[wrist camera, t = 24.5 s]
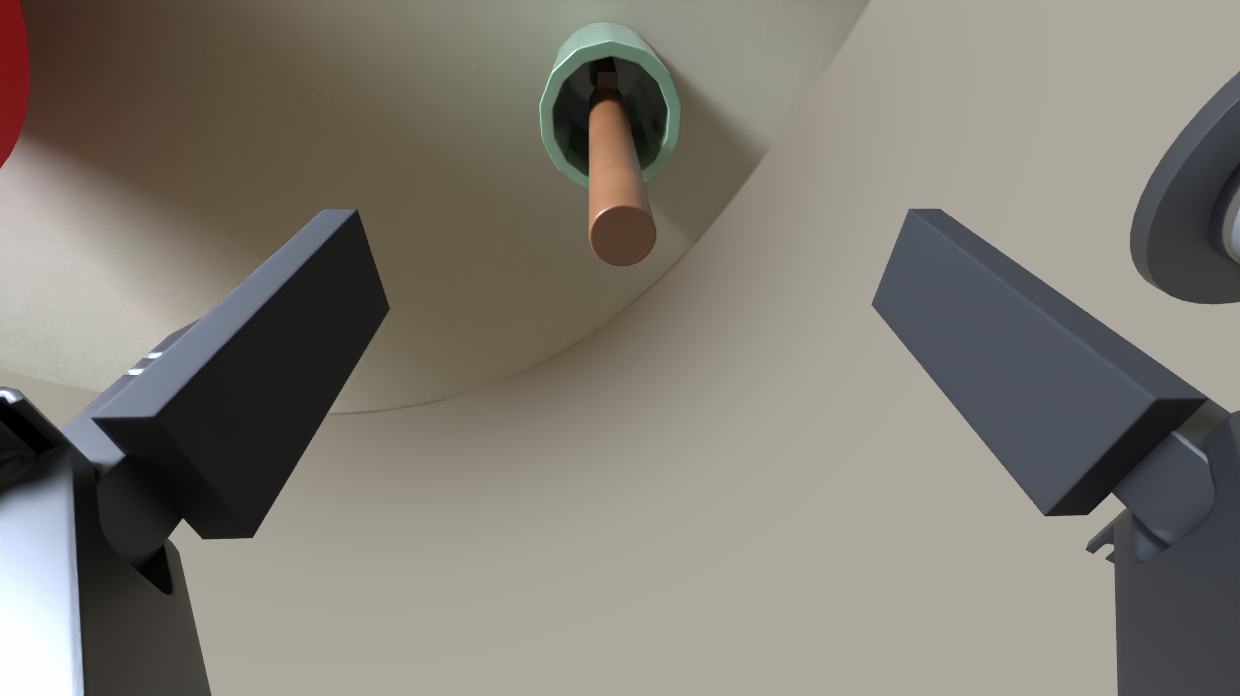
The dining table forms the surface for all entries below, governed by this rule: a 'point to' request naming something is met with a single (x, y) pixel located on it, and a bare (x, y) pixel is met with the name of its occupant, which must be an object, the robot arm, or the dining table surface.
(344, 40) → the dining table surface
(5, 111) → the bowl
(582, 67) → the crock
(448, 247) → the dining table surface
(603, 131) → the stick
